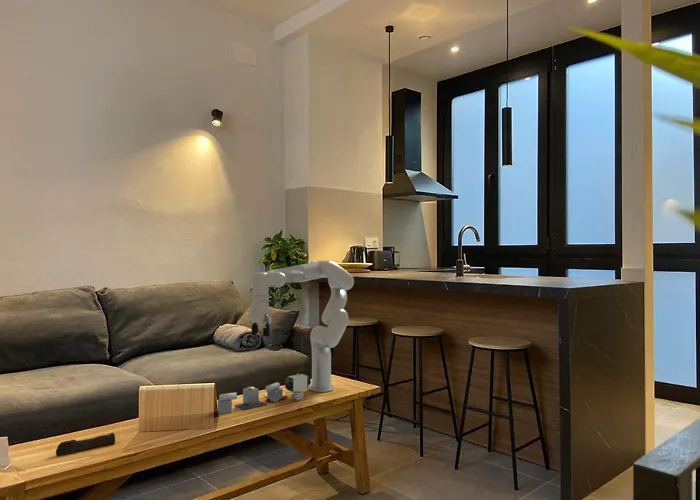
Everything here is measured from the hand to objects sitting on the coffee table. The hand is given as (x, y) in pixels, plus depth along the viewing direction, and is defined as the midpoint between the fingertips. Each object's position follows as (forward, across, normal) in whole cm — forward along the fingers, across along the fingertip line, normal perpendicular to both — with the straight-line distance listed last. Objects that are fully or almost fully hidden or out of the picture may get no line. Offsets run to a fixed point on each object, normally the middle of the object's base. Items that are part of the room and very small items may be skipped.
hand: (260, 334), depth 247 cm
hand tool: (+31, +11, -79) cm, 85 cm away
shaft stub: (+30, +6, -20) cm, 37 cm away
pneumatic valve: (+31, +11, +13) cm, 35 cm away
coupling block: (+30, +5, -9) cm, 31 cm away
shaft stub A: (+30, +6, +3) cm, 31 cm away
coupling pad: (+30, +5, -9) cm, 32 cm away
